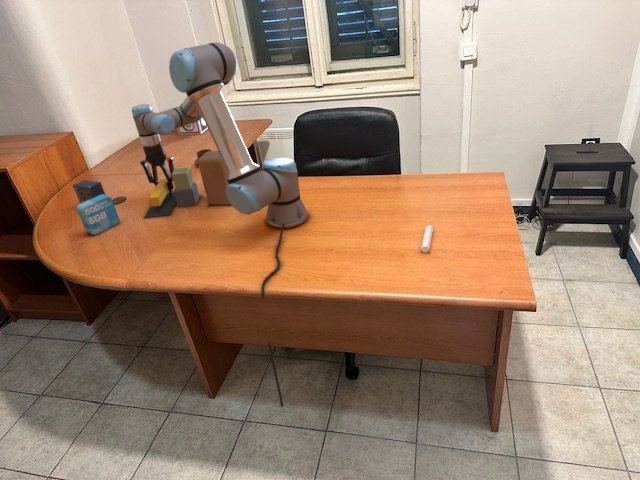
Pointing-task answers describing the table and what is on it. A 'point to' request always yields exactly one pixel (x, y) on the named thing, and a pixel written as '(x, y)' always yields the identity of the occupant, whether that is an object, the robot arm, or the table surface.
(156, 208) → the mat
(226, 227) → the table surface
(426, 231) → the marker
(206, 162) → the block
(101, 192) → the small box
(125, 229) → the table surface
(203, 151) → the cup and saucer
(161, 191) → the bar
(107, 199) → the data package
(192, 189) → the tower
